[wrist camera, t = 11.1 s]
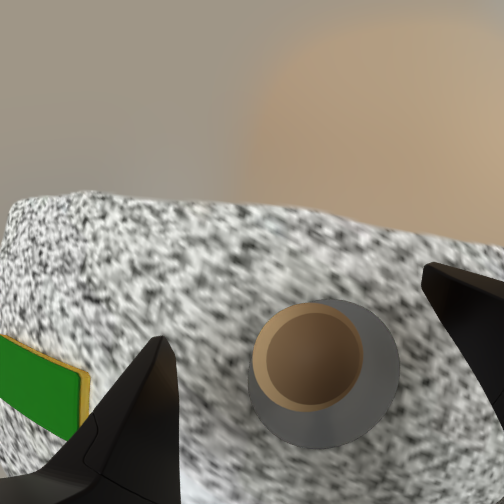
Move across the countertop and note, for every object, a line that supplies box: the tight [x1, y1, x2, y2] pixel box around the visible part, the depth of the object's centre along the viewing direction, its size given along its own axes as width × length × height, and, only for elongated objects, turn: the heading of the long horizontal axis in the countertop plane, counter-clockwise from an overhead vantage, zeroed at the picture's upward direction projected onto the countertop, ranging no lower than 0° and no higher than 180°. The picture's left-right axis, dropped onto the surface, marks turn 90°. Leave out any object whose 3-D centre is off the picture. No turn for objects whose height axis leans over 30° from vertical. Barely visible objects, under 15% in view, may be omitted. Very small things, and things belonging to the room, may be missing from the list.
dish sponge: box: [0, 334, 90, 441], centre depth 18 cm, size 7×14×2 cm, turn 83°
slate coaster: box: [248, 299, 400, 449], centre depth 19 cm, size 12×12×1 cm
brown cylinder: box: [253, 303, 363, 412], centre depth 14 cm, size 4×4×12 cm
